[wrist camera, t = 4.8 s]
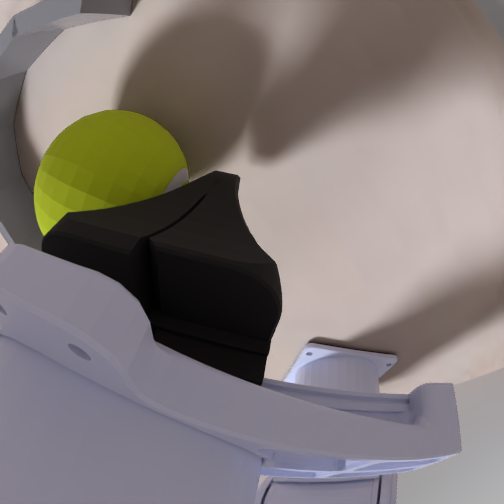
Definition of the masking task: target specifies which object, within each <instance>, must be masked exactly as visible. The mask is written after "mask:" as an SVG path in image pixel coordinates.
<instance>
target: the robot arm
mask: <svg viewBox="0 0 504 504" xmlns="http://www.w3.org/2000/svg"><path fill="white" fill-rule="evenodd" d="M239 183H240V177H239V176H238V175H235V174H230V173H225V172H220V171H214V172H211V173H209V174H207V175H205V176H203V177H201V178H198V179H196V180H194V181H192V182H190V183H188V184H186V185H183V186H181V187H179V188H176V189H174V190H172V191H169V192H167V193H164V194H161V195H159V196H156V197H152V198H149V199H146V200H142V201H138V202H134V203H130V204H126V205H122V206H117V207H111V208H105V209H98V210H89V211H78V212H68V213H66V214H65V215H64V216H63V217H62V218H61V219H60V220H59V221H58V222H57V223H56V224H55V225H54V226H53V227H52V228H51V229H50V230H49V231H48V232H47V233H46V235H45V236H44V237H43V239H42V243H41V250H42V252H41V251H39V250H36V249H34V248H31V247H28V246H26V245H23V244H9V245H8V246H7V247H6V248H5V249H4V250H3V251H2V252H1V253H0V504H396V496H397V473H401V472H407V471H413V470H416V469H419V468H422V467H425V466H428V465H431V464H434V463H437V462H439V461H442V460H444V459H447V458H449V457H452V456H454V455H457V454H459V453H460V452H461V451H462V449H461V438H460V437H461V436H460V427H459V419H458V412H457V405H456V399H455V392H454V387H453V384H452V383H426V384H423V385H420V386H418V387H417V388H415V389H414V390H413V391H412V392H411V393H410V394H386V393H379V378H380V377H381V376H382V375H383V374H384V373H386V372H387V371H388V370H389V369H390V368H391V367H392V366H393V365H394V364H395V363H396V362H397V361H398V359H397V356H396V355H390V354H381V353H374V352H366V351H359V350H353V349H346V348H340V347H334V346H328V345H322V344H316V343H309V344H307V345H305V347H304V349H303V350H302V352H301V354H300V355H299V357H298V359H297V360H296V362H295V363H294V365H293V366H292V368H291V370H290V371H289V373H288V374H287V376H286V377H285V379H284V381H278V380H273V379H267V378H264V372H265V366H266V360H267V356H268V354H269V351H270V344H271V339H272V337H273V334H274V332H275V329H276V327H277V325H278V322H279V320H280V317H281V313H282V291H281V283H280V277H279V272H278V268H277V264H276V263H275V261H274V260H273V259H272V258H271V257H270V256H269V255H268V254H267V253H266V252H265V251H263V250H262V248H261V247H260V246H259V245H258V244H257V242H256V241H255V239H254V237H253V236H252V234H251V233H250V231H249V229H248V227H247V225H246V223H245V220H244V218H243V215H242V212H241V208H240V204H239V199H238V190H239ZM260 475H264V476H268V477H267V478H266V479H265V480H264V481H263V482H262V483H261V484H260V485H259V486H258V482H259V477H260Z"/></svg>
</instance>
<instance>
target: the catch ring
mask: <svg viewBox="0 0 504 504" xmlns="http://www.w3.org/2000/svg"><path fill="white" fill-rule="evenodd" d="M131 6H132V0H45V1H43V2H40V3H38V4H36V5H34V6H32V7H29V8H27V9H25V10H23V11H21V12H19V13H17V14H16V15H14V16H13V17H12V19H11V20H10V21H9V23H8V24H7V25H6V27H5V28H4V30H3V31H2V33H1V34H0V232H1V234H2V235H3V237H4V239H5V240H6V242H7V243H8V245H9V244H23V245H26V246H28V247H31V248H34V249H36V250H39V251H41V252H42V250H41V243H42V239H43V237H44V236H43V234H42V232H41V230H40V227H39V225H38V222H37V218H36V213H35V206H34V196H33V194H32V193H31V191H30V189H29V187H28V186H27V184H26V182H25V180H24V178H23V176H22V174H21V170H20V165H19V159H18V153H17V147H16V141H15V134H14V125H13V122H14V117H15V112H16V108H17V103H18V99H19V95H20V91H21V88H22V84H23V81H24V77H25V74H26V71H27V70H28V68H29V67H30V66H31V65H32V64H33V62H34V61H35V60H36V59H37V58H38V57H39V55H40V54H41V53H42V52H43V51H44V50H45V49H46V48H47V47H48V45H49V44H50V43H51V42H52V41H53V40H54V39H55V38H56V37H57V36H58V35H59V34H60V33H61V32H62V31H63V30H64V29H67V28H70V27H74V26H78V25H82V24H87V23H91V22H96V21H101V20H106V19H112V18H118V17H125V16H130V13H131Z"/></svg>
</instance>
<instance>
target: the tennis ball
mask: <svg viewBox="0 0 504 504" xmlns="http://www.w3.org/2000/svg"><path fill="white" fill-rule="evenodd" d="M188 183H189V177H188V167H187V162H186V159H185V157H184V155H183V153H182V151H181V149H180V147H179V144H178V143H177V142H176V140H175V139H174V138H173V137H172V135H171V134H170V133H169V132H168V131H167V130H166V129H165V128H163V127H162V126H161V125H160V124H158V123H157V122H156V121H154V120H153V119H151V118H149V117H146V116H144V115H142V114H140V113H136V112H131V111H126V110H105V111H101V112H98V113H94V114H91V115H88V116H85V117H83V118H81V119H79V120H78V121H76V122H74V123H73V124H71V125H70V126H68V127H67V128H66V129H64V130H63V131H62V132H61V133H60V134H59V135H58V136H57V137H56V139H55V140H54V141H53V142H52V143H51V145H50V147H49V148H48V150H47V151H46V153H45V155H44V157H43V159H42V161H41V164H40V166H39V169H38V172H37V176H36V179H35V186H34V206H35V213H36V218H37V222H38V225H39V227H40V230H41V232H42V234H43V236H45V235H46V233H47V232H48V231H49V230H50V229H51V228H52V227H53V226H54V225H55V224H56V223H57V222H58V221H59V220H60V219H61V218H62V217H63V216H64V215H65V214H66V213H68V212H78V211H89V210H98V209H105V208H111V207H117V206H122V205H126V204H130V203H134V202H138V201H142V200H146V199H149V198H152V197H156V196H159V195H161V194H164V193H167V192H169V191H172V190H174V189H176V188H179V187H181V186H183V185H186V184H188Z"/></svg>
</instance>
